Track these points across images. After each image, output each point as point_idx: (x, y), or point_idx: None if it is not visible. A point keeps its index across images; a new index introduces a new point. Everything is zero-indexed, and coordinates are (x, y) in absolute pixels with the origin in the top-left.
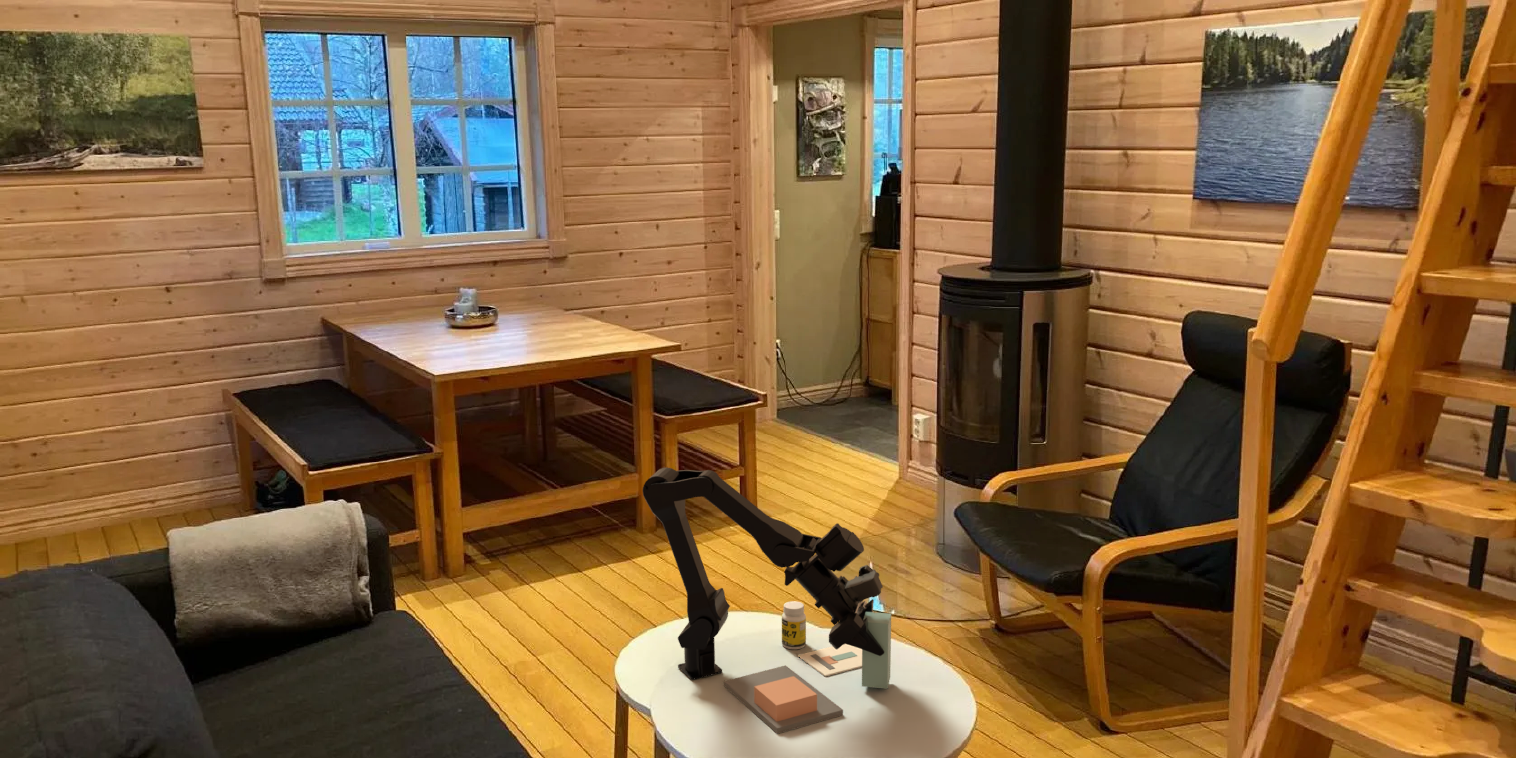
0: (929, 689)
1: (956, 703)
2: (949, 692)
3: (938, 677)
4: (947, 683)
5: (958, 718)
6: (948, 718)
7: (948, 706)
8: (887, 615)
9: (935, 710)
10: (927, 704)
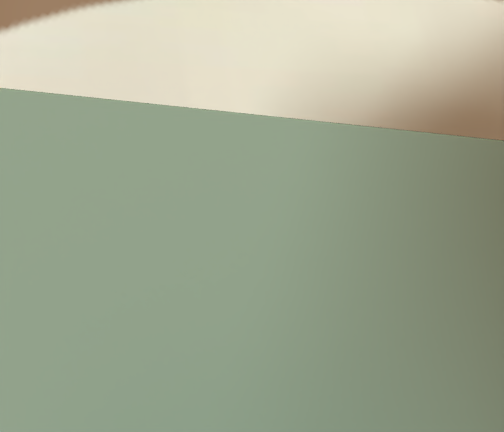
0: (210, 106)
1: (328, 5)
2: (229, 23)
3: (69, 60)
4: (135, 25)
5: (452, 8)
6: (463, 44)
7: (362, 37)
8: (149, 203)
9: (410, 89)
10: (363, 119)
